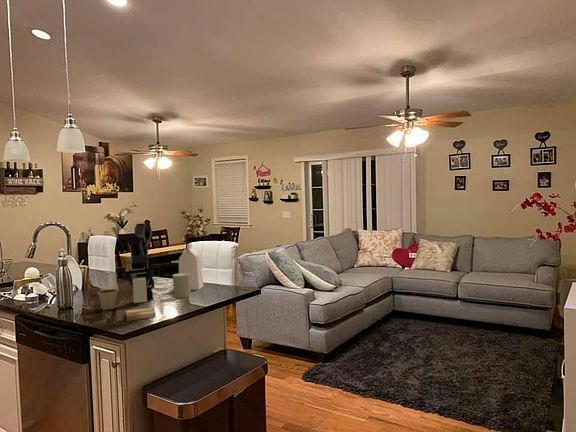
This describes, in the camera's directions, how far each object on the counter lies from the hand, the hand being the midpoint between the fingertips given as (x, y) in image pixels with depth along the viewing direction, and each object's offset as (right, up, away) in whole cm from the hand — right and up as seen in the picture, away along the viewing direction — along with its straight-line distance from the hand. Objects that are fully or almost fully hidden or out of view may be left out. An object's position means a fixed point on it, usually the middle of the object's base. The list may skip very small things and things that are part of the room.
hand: (139, 286), depth 193 cm
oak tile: (0, -14, +2) cm, 14 cm away
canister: (0, -7, +1) cm, 7 cm away
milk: (+9, -11, +63) cm, 64 cm away
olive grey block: (+9, -12, +42) cm, 44 cm away
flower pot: (-22, -14, +19) cm, 32 cm away
